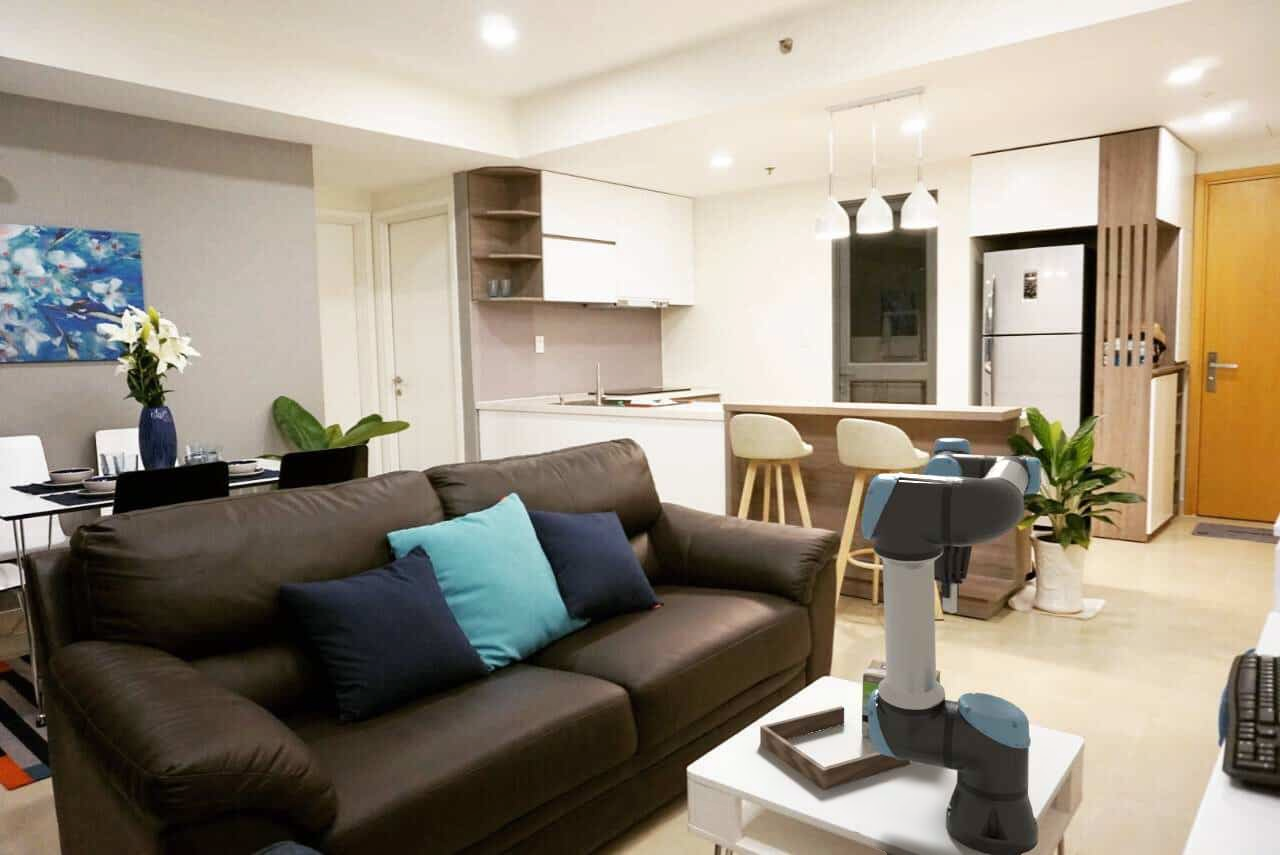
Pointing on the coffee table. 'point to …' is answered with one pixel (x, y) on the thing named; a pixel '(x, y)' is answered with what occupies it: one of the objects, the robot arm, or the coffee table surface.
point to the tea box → (870, 683)
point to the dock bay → (822, 776)
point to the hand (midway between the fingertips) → (949, 611)
